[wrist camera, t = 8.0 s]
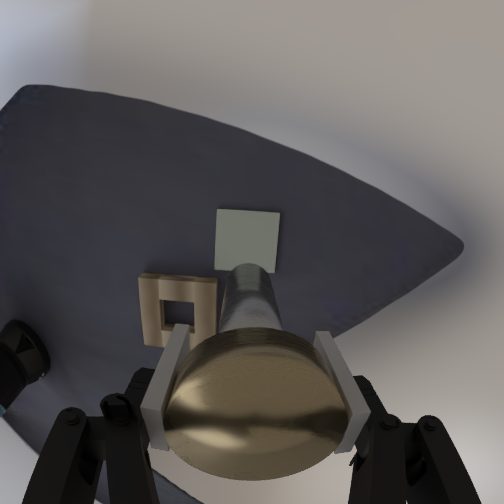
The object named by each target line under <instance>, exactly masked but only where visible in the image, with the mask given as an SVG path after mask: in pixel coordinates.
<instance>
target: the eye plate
mask: <svg viewBox="0 0 504 504" xmlns="http://www.w3.org/2000/svg"><path fill="white" fill-rule="evenodd" d="M138 281H139V295H140V307H141V318H142V327H143V336H144V343H145V345H151V346H159V347H166V344H167V342H168V340H169V338H170V335H171V333H172V331H173V329H174V326H175V324H168V323H165V315H164V300H171V301H183V302H194V318H195V326H189V332H190V350H192V349H193V348H194V347H195V346H197V345H198V344H199V343H201V342H202V341H204V340H205V339H207V338H209V337H212V336H214V335H216V328H217V288H218V278H211V277H196V276H182V275H169V274H156V273H143V274H141V275H140V276H139V277H138Z"/></svg>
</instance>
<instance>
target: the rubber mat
mask: <svg viewBox="0 0 504 504" xmlns="http://www.w3.org/2000/svg"><path fill="white" fill-rule="evenodd" d="M279 219H280V213H276V212H262V211H247V210H231V209H217V221H216V243H215V270H230V271H231V270H232V269H234V268H235V267H236V266H238V265H241V264H244V263H253V264H257V265H259V266H261V267H262V268H264V269H265V270H266V272H267V273H275V263H276V252H277V241H278V230H279Z"/></svg>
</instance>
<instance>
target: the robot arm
mask: <svg viewBox="0 0 504 504" xmlns="http://www.w3.org/2000/svg"><path fill="white" fill-rule="evenodd" d="M313 346H314V347H315V348H316V349H317V350H318V351H319V352H320V354H321V355H322V356H323V358H324V360H325V361H326V363H327V366H328V368H329V370H330V373H331V375H332V377H333V380H334V382H335V385H336V387H337V389H338V392H339V394H340V396H341V399H342V401H343V404H344V406H345V408H346V412H347V415H348V426H347V430H346V432H345V434H344V435H345V436H344V438H343V440H342V441H341V443H340V444H339V445H338V447H337V448H336V449H335V450H334V453H335V454H337V453H344V452H350V451H351V450H352V448H353V446H354V444H355V446H356V449H357V452H356V454H355V455H354V457H353V459H352V460H351V462H350V464H349V466H352V464H353V463H354V464H353V473H352V480H351V487H350V494H349V501H348V504H406V500H407V503H408V504H481V501H480V499H479V497H478V494H477V492H476V490H475V487H474V485H473V483H472V481H471V479H470V476H469V474H468V472H467V470H466V468H465V466H464V464H463V462H462V460H461V458H460V456H459V454H458V452H457V450H456V448H455V446H454V444H453V442H452V440H451V438H450V436H449V434H448V432H447V431H446V429H445V427H444V425H443V423H442V422H441V421H440V420H439V419H438V418H437V417H435V416H431V415H425V416H423V417H421V418H420V419H419V421H418V422H417V423H402V422H401V420H400V419H399V418H398V417H396V416H394V415H392V414H388V413H387V411H386V409H385V408H384V406H383V404H382V402H381V401H380V399H379V397H378V395H376V392H375V390H374V389H373V387H372V385H371V383H370V381H369V380H367V379H366V378H365V377H364V376H362V375H361V376H352V374H351V372H350V370H349V368H348V366H347V364H346V362H345V361H344V359H343V357H342V355H341V353H340V351H339V349H338V347H337V346H336V344H335V342H334V340H333V338H332V336H331V334H330V332H329V331H316V334H315V339H314V344H313ZM189 352H190V332H189V325H186V324H177V323H176V324H175V326H174V329H173V331H172V333H171V335H170V338H169V340H168V342H167V344H166V347H165V349H164V351H163V354H162V356H161V358H160V360H159V363H158V365H157V368H156V370H155V369H148V368H140V369H139V370H138V371H137V372H135V373H134V375H133V377H132V379H131V382H130V383H129V385H128V387H127V389H126V391H125V393H124V394H118V393H115V394H110V395H108V396H106V397H104V398H103V399H102V400H101V403H100V407H101V410H102V413H103V415H104V416H102V417H89V416H86V414H85V413H84V412H83V411H82V410H81V409H79V408H74V407H70V408H66V409H64V410H62V411H61V412H60V413H59V414H58V416H57V418H56V420H55V423H54V425H53V427H52V429H51V431H50V433H49V435H48V438H47V440H46V442H45V444H44V447H43V449H42V451H41V454H40V456H39V458H38V461H37V463H36V466H35V469H34V471H33V474H32V476H31V479H30V481H29V484H28V487H27V490H26V493H25V495H24V498H23V502H22V504H94V499H95V495H96V490H97V485H98V481H99V477H100V472H101V468H102V464H103V460H106V465H107V478H108V488H109V497H110V504H160V502H159V498H158V494H157V490H156V486H155V482H154V477H153V473H152V468H151V463H150V458H149V453H148V450H147V448H148V445H149V442H150V445H151V448H155V449H160V450H165V451H169V449H170V447H169V445H168V443H167V441H166V436H165V432H164V427H163V419H164V416H165V413H166V409H167V406H168V403H169V399H170V396H171V393H172V389H173V386H174V383H175V380H176V377H177V373H178V370H179V368H180V365H181V363H182V361H183V360H184V358H185V357H186V355H187V354H188V353H189ZM49 369H50V361H49V357H48V354H47V351H46V349H45V347H44V345H43V344H42V342H41V341H40V339H39V338H38V336H37V335H36V334H35V333H34V332H33V331H32V330H31V329H30V328H29V327H28V326H27V325H26V324H24V323H22V322H21V321H18V320H11V321H10V322H8V323H7V324H6V325H5V326H4V327H3V329H2V331H1V333H0V417H1V416H2V415H3V414H4V413H5V412H6V410H7V409H8V407H9V406H10V405H11V404H12V402H13V401H14V400H15V399H16V397H17V396H18V395H19V394H20V393H21V391H22V390H23V389H24V388H25V387H26V386H27V385H29V384H31V383H33V382H35V381H38V380H40V379H42V378H43V377H44V376H45V375H46V374H47V373H48V371H49Z"/></svg>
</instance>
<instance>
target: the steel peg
mask: <svg viewBox="0 0 504 504" xmlns="http://www.w3.org/2000/svg"><path fill="white" fill-rule="evenodd" d="M347 426H348V415H347V412H346V408H345V406H344V404H343V401H342V399H341V396H340V394H339V392H338V389H337V387H336V385H335V382H334V380H333V377H332V375H331V373H330V370H329V368H328V366H327V363H326V361H325V360H324V358H323V356H322V355H321V354H320V352H319V351H318V350H317V349H316V348H315V347H314V346H313V345H312V344H310V343H309V342H307V341H306V340H304V339H303V338H301V337H299V336H297V335H294V334H292V333H289V332H286V331H284V330H283V326H282V322H281V318H280V314H279V311H278V307H277V303H276V299H275V295H274V292H273V288H272V284H271V280H270V277H269V275H268V273H267V272H266V270H265V269H264V268H262V267H261V266H259V265H257V264H253V263H244V264H241V265H238V266H236V267H235V268H234V269H232V270H231V272H230V273H229V275H228V277H227V280H226V286H225V292H224V298H223V304H222V310H221V316H220V322H219V329H218V334H216V335H214V336H212V337H209V338H207V339H205V340H204V341H202V342H201V343H199V344H198V345H197V346H195V347H194V348H193V349H192V350H191V351H190V352H189V353H188V354H187V355H186V357H185V358H184V360H183V361H182V363H181V365H180V368H179V370H178V373H177V377H176V380H175V383H174V386H173V389H172V393H171V396H170V399H169V403H168V406H167V409H166V413H165V416H164V419H163V427H164V432H165V436H166V441H167V443H168V445H169V447H170V448H171V449H172V450H173V451H174V453H175V454H176V455H177V456H178V457H180V458H181V459H182V460H183V461H185V462H186V463H188V464H190V465H191V466H193V467H195V468H197V469H199V470H201V471H203V472H206V473H209V474H211V475H215V476H219V477H223V478H228V479H235V480H249V481H253V480H254V481H255V480H269V479H276V478H280V477H285V476H289V475H292V474H295V473H298V472H301V471H303V470H306V469H308V468H310V467H312V466H314V465H316V464H317V463H319V462H320V461H322V460H323V459H325V458H326V457H327V456H329V455H330V454H331V453H332V452H333V451H334V450H335V449H336V448H337V447H338V445H339V444H340V443H341V441H342V440H343V438H344V436H345V435H344V434H345V432H346V430H347Z"/></svg>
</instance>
